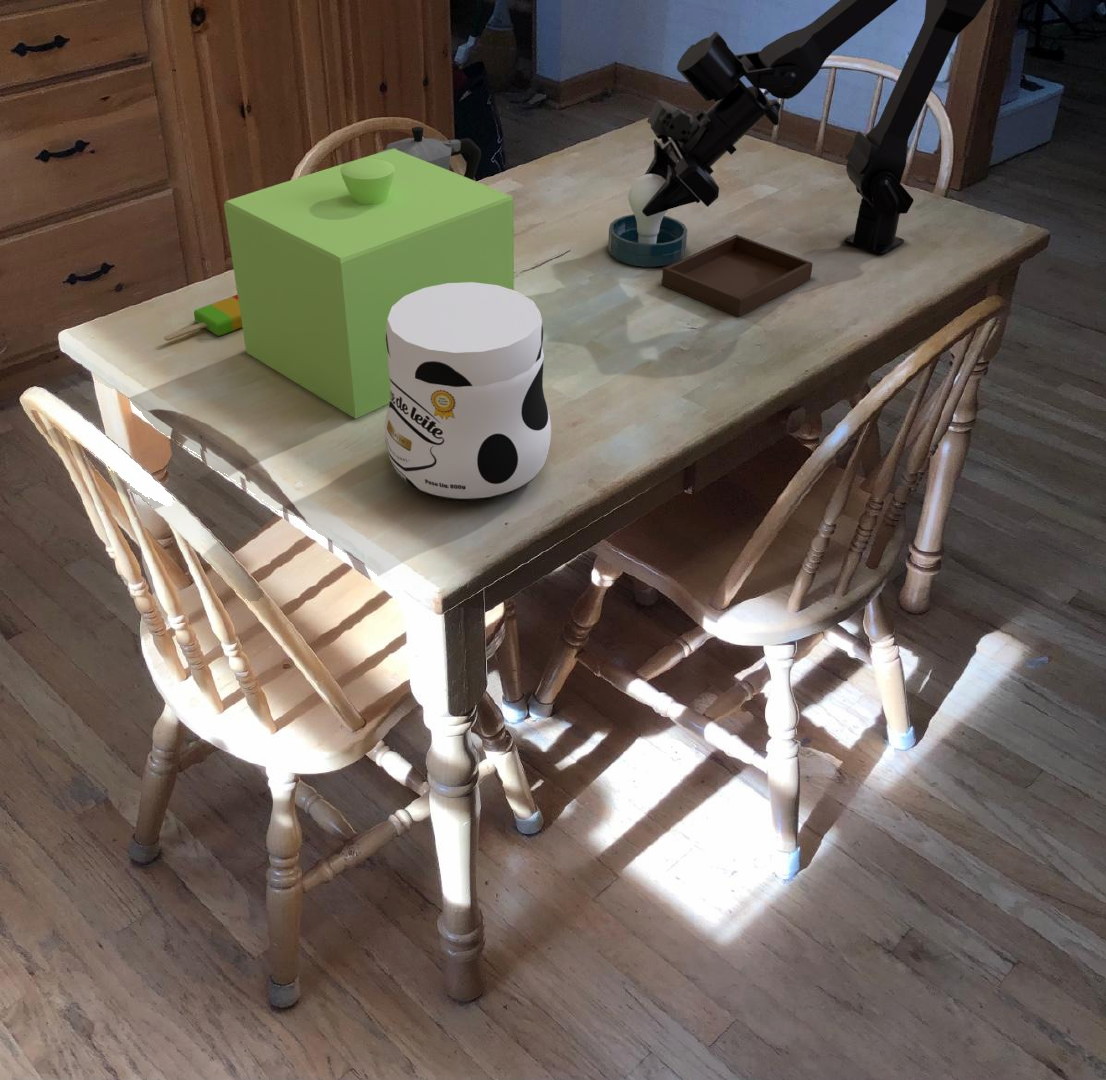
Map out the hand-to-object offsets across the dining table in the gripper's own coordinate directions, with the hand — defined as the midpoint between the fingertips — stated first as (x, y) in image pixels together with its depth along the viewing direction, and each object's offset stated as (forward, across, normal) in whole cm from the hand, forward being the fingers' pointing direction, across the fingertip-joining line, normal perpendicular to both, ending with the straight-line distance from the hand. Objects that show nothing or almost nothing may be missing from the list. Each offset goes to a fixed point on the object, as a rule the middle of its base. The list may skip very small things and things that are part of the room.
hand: (639, 204), depth 171 cm
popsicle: (+46, +17, -35) cm, 60 cm away
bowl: (+4, 0, +6) cm, 7 cm away
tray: (-3, +11, +13) cm, 18 cm away
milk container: (+25, +52, -14) cm, 60 cm away
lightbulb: (+4, 0, +6) cm, 7 cm away
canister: (+31, +25, -21) cm, 45 cm away
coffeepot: (+26, -2, -16) cm, 30 cm away
